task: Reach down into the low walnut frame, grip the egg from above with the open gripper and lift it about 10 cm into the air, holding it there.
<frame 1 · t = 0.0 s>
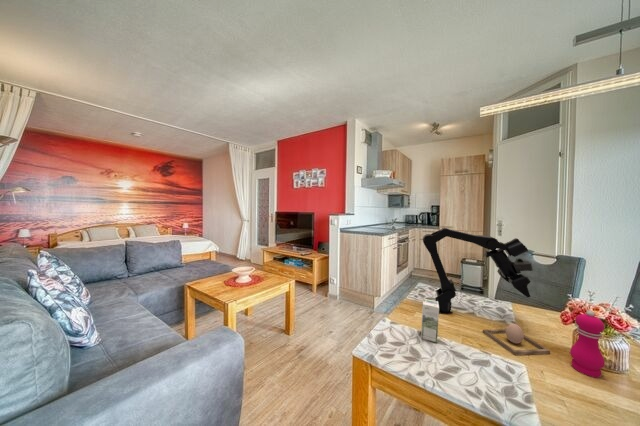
hand: (524, 293, 98), 15 cm above the table, tool tilted 35°, fingers open, 9 cm apart
walnut frame: (513, 342, 87), on the table
pepper mill: (585, 370, 73), on the table
egg: (513, 343, 87), resting in walnut frame
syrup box: (428, 338, 89), on the table
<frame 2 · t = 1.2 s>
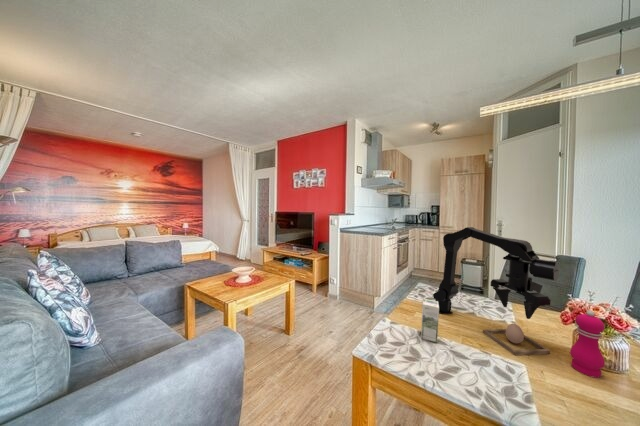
hand: (516, 312, 86), 12 cm above the table, tool pointing down, fingers open, 9 cm apart
nothing on the table moved.
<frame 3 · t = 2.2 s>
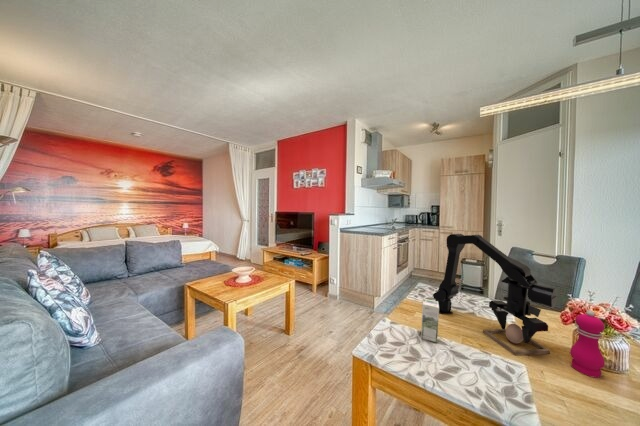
hand: (514, 335, 87), 3 cm above the table, tool pointing down, fingers open, 9 cm apart
nothing on the table moved.
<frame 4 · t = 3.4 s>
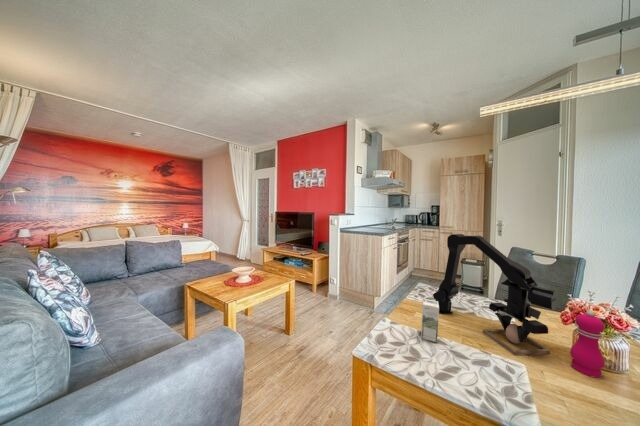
hand: (514, 337, 87), 2 cm above the table, tool pointing down, fingers closed on egg, 5 cm apart
egg: (513, 342, 87), resting in walnut frame, touching gripper
everything else where it was.
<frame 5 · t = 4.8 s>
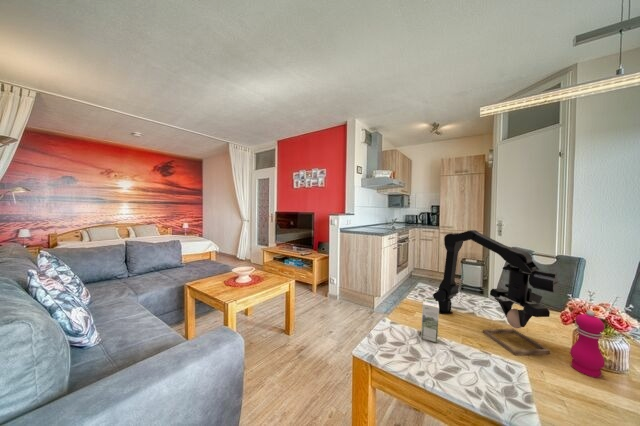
hand: (515, 322, 86), 8 cm above the table, tool pointing down, fingers closed on egg, 5 cm apart
egg: (514, 327, 86), point 6 cm above the table, touching gripper
everything else where it was.
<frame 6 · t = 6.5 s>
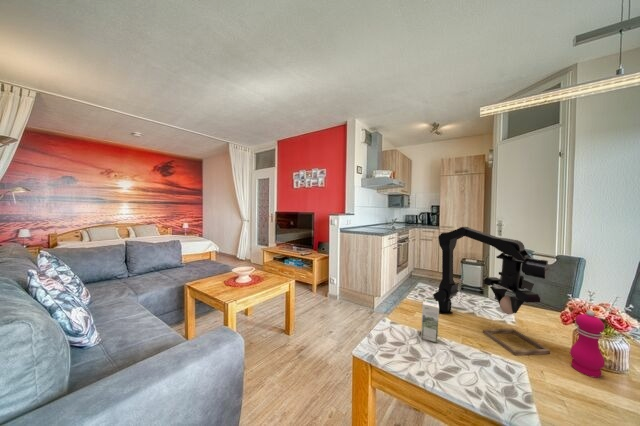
hand: (507, 309, 89), 12 cm above the table, tool pointing down, fingers closed on egg, 5 cm apart
egg: (507, 314, 89), point 10 cm above the table, touching gripper
everything else where it was.
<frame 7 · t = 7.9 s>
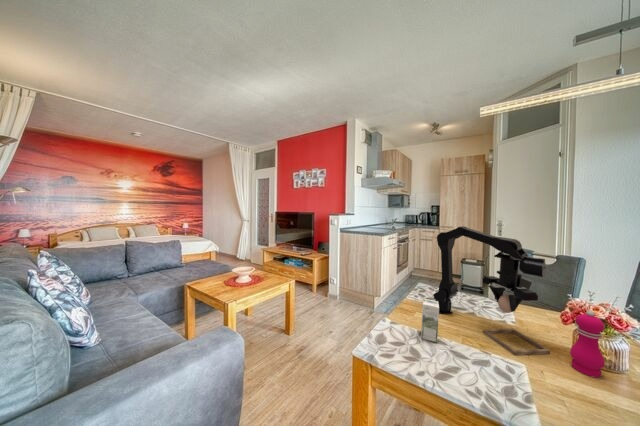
hand: (506, 307, 90), 12 cm above the table, tool pointing down, fingers closed on egg, 5 cm apart
egg: (505, 312, 90), point 10 cm above the table, touching gripper
everything else where it was.
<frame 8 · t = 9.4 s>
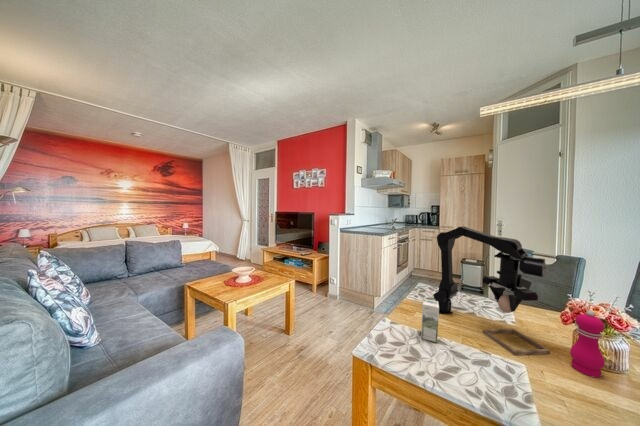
hand: (506, 307, 90), 12 cm above the table, tool pointing down, fingers closed on egg, 5 cm apart
egg: (505, 312, 90), point 10 cm above the table, touching gripper
everything else where it was.
at the end: the gripper is holding egg; egg point 9.9 cm above the table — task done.
